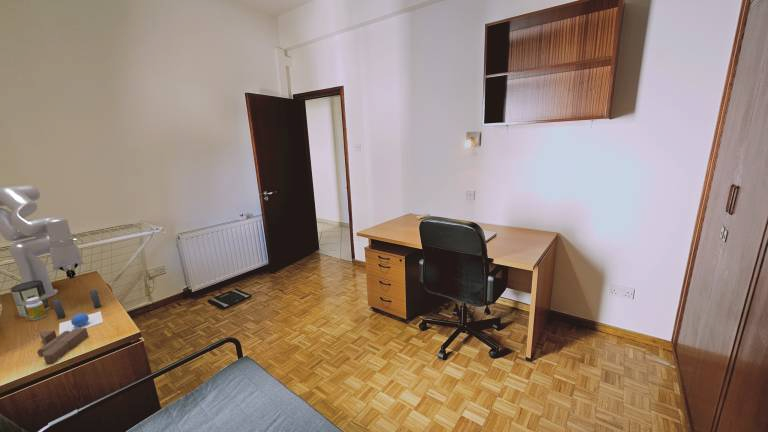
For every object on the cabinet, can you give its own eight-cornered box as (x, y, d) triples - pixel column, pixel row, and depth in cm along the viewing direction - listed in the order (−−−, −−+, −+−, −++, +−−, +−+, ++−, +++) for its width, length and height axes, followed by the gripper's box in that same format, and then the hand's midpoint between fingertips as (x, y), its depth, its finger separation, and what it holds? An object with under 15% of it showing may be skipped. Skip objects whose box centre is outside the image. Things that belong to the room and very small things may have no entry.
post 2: (94, 307, 153) (89, 290, 151) (101, 305, 155) (96, 288, 152) (94, 308, 151) (89, 292, 149) (101, 306, 153) (97, 290, 151)
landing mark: (59, 323, 139) (59, 323, 139) (100, 311, 148) (100, 311, 148) (59, 336, 129) (59, 336, 129) (103, 322, 139) (103, 322, 139)
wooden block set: (87, 324, 129) (50, 352, 112) (90, 335, 131) (54, 365, 113) (41, 328, 127) (-5, 357, 109) (44, 340, 128) (0, 371, 111)
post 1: (57, 317, 144) (52, 300, 142) (65, 315, 146) (60, 298, 144) (57, 319, 142) (52, 302, 140) (65, 317, 144) (60, 300, 142)
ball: (73, 331, 134) (72, 322, 137) (90, 325, 138) (88, 317, 141) (70, 322, 132) (69, 313, 135) (88, 317, 136) (86, 308, 139)
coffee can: (39, 304, 156) (31, 279, 153) (56, 306, 154) (48, 280, 151) (13, 315, 146) (3, 289, 143) (29, 317, 144) (20, 290, 141)
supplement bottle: (35, 321, 141) (29, 302, 139) (26, 320, 142) (20, 301, 140) (49, 314, 147) (44, 296, 144) (41, 313, 148) (35, 295, 145)
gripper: (82, 238, 157) (91, 271, 162) (40, 245, 147) (50, 280, 151) (83, 241, 152) (92, 275, 157) (39, 248, 142) (50, 285, 146)
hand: (72, 277), depth 154 cm, fingers closed
